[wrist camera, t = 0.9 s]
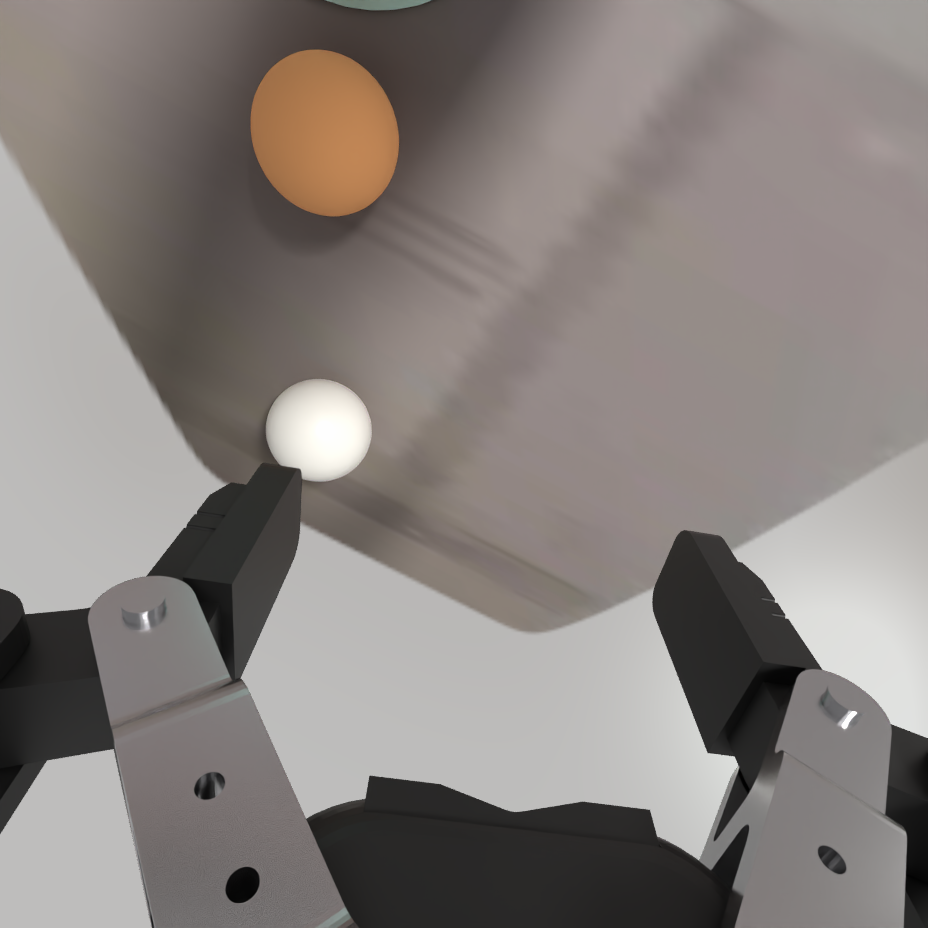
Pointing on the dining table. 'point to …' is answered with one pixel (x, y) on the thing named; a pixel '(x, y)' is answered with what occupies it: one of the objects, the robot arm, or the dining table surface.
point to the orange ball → (324, 132)
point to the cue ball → (319, 429)
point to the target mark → (379, 4)
